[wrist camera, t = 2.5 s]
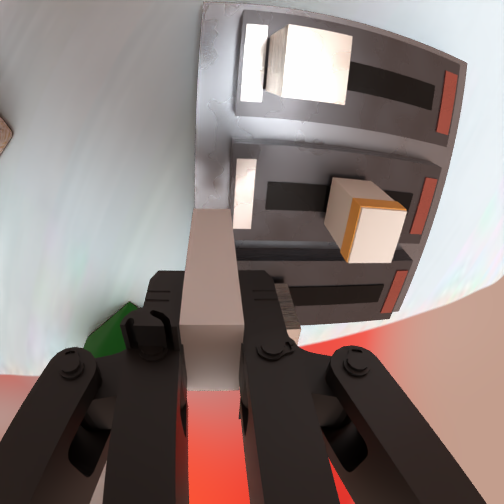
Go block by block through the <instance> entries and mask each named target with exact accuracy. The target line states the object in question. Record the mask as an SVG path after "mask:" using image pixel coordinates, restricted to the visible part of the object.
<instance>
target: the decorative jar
mask: <svg viewBox="0 0 504 504" xmlns="http://www.w3.org/2000/svg"><path fill="white" fill-rule="evenodd" d="M11 137H12V132H11V130H10V129H9V127H8V126H7V124H6V123H5V122H4V121H3V119H2V118H1V117H0V154H1V153H2V151H3V150H4V148H5V147H6V145H7V143H8V142H9V140H10V139H11Z"/></svg>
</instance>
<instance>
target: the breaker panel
mask: <svg viewBox="0 0 504 504" xmlns="http://www.w3.org/2000/svg"><path fill="white" fill-rule="evenodd" d="M466 70H467V63H466V62H464V61H462V60H460V59H458V58H456V57H453V56H451V55H449V54H447V53H444V52H442V51H440V50H438V49H435V48H433V47H430V46H428V45H425V44H423V43H420V42H418V41H415V40H412V39H410V38H407V37H404V36H401V35H398V34H395V33H392V32H389V31H386V30H383V29H380V28H376V27H373V26H370V25H366V24H362V23H359V22H355V21H351V20H347V19H343V18H338V17H334V16H329V15H325V14H320V13H314V12H309V11H303V10H297V9H291V8H283V7H276V6H267V5H257V4H245V3H227V2H203V13H202V25H201V37H200V51H199V67H198V85H197V107H196V137H195V209H231V217H232V226H233V235H234V243H235V252H236V260H237V269H238V270H265V271H266V272H267V273H268V274H269V275H270V276H271V278H272V279H273V281H274V284H275V288H276V292H277V295H278V301H279V303H280V307H281V310H282V314H283V318H284V322H285V325H286V329H287V333H288V335H289V337H290V338H291V339H293V340H294V341H295V343H296V344H297V343H298V339H299V336H300V332H301V327H300V325H317V324H333V323H348V322H360V321H372V320H383V319H390V316H391V314H392V312H397V311H399V309H400V307H401V305H402V303H403V300H404V298H405V296H406V293H407V291H408V288H409V286H410V284H411V281H412V279H413V276H414V274H415V271H416V269H417V266H418V263H419V261H420V258H421V255H422V253H423V250H424V247H425V244H426V242H427V239H428V236H429V233H430V230H431V227H432V224H433V221H434V218H435V214H436V211H437V208H438V205H439V201H440V198H441V195H442V191H443V187H444V184H445V180H446V176H447V172H448V169H449V165H450V160H451V156H452V152H453V148H454V143H455V138H456V133H457V128H458V123H459V118H460V112H461V106H462V100H463V94H464V86H465V79H466ZM332 177H335V178H346V179H356V180H366V181H372V182H373V183H374V184H376V185H377V186H378V187H379V188H380V189H381V190H383V191H384V192H385V193H386V194H387V195H389V196H390V197H391V198H392V199H393V200H394V201H397V202H399V203H400V204H401V205H402V206H403V207H404V208H405V209H407V210H406V211H407V214H406V217H405V220H404V224H403V227H402V230H401V234H400V237H399V240H398V243H397V246H396V249H395V252H394V255H393V258H392V261H391V263H348V262H346V261H345V259H344V258H343V256H342V254H341V253H340V251H341V250H340V248H339V247H338V245H337V244H336V242H335V240H334V239H333V237H332V236H331V234H330V232H329V231H328V229H327V228H326V226H325V225H324V221H325V216H326V211H327V205H328V200H329V194H330V189H331V183H332Z"/></svg>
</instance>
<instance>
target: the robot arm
mask: <svg viewBox="0 0 504 504" xmlns="http://www.w3.org/2000/svg"><path fill="white" fill-rule="evenodd" d="M120 328H121V331H122V335H123V339H124V342H125V346H126V349H125V350H123V351H121V352H119V353H116V354H113V355H108V356H103V357H98V358H94V356H93V355H92V353H91V352H89V351H87V350H86V349H84V348H78V347H72V348H67V349H64V350H62V351H60V352H58V353H57V354H56V355H55V356H54V357H53V358H52V359H51V360H50V362H49V363H48V365H47V366H46V368H45V369H44V371H43V372H42V374H41V375H40V377H39V378H38V380H37V382H36V383H35V385H34V386H33V388H32V389H31V391H30V393H29V394H28V396H27V397H26V399H25V401H24V402H23V404H22V405H21V407H20V409H19V410H18V412H17V414H16V415H15V417H14V419H13V420H12V422H11V424H10V426H9V427H8V429H7V431H6V433H5V434H4V436H3V438H2V440H1V442H0V504H90V501H91V499H92V496H93V494H94V491H95V489H96V486H97V484H98V481H99V478H100V476H101V474H102V471H103V469H104V466H105V464H106V472H105V481H104V491H103V502H102V504H189V483H188V404H187V390H189V391H190V390H191V391H194V390H195V391H221V390H222V391H224V390H226V391H227V390H239V386H240V396H241V398H240V409H239V410H240V411H239V419H241V424H242V433H243V443H244V452H245V462H246V471H247V480H248V487H249V497H250V504H340V502H339V498H338V494H337V490H336V486H335V482H334V478H333V474H332V470H331V466H330V463H329V459H330V461H331V463H332V465H333V466H334V468H335V470H336V472H337V473H338V475H339V477H340V478H341V480H342V482H343V484H344V485H345V487H346V489H347V491H348V492H349V494H350V495H351V497H352V499H353V501H354V502H355V504H486V502H485V501H484V499H483V498H482V497H481V495H480V494H479V492H478V491H477V489H476V488H475V487H474V485H473V484H472V482H471V481H470V480H469V478H468V477H467V476H466V474H465V473H464V471H463V470H462V469H461V467H460V466H459V464H458V463H457V462H456V460H455V459H454V457H453V456H452V455H451V453H450V452H449V451H448V450H447V448H446V447H445V445H444V444H443V443H442V441H441V440H440V439H439V437H438V436H437V435H436V433H435V432H434V431H433V429H432V428H431V427H430V425H429V424H428V423H427V421H426V420H425V419H424V417H423V416H422V415H421V413H420V412H419V411H418V409H417V408H416V407H415V405H414V404H413V403H412V402H411V400H410V399H409V398H408V397H407V395H406V394H405V393H404V391H403V390H402V389H401V387H400V386H399V385H398V384H397V382H396V381H395V380H394V378H393V377H392V376H391V375H390V373H389V372H388V371H387V370H386V368H385V367H384V366H383V364H382V363H381V362H380V361H379V359H378V358H377V357H376V356H375V355H374V354H373V353H372V352H370V351H369V350H366V349H364V348H362V347H358V346H344V347H341V348H340V349H338V350H336V351H335V352H334V354H333V355H332V356H327V355H321V354H316V353H311V352H308V351H305V350H303V349H301V348H299V347H298V346H297V344H296V343H295V341H294V340H293V339H291V338H290V337H289V335H288V333H287V329H286V325H285V322H284V318H283V314H282V310H281V307H280V303H279V301H278V295H277V292H276V288H275V284H274V281H273V279H272V278H271V276H270V275H269V274H268V273H267V272H266V271H265V270H238V269H237V260H236V252H235V243H234V235H233V226H232V217H231V209H193V215H192V222H191V229H190V236H189V244H188V251H187V259H186V267H185V271H158V272H157V273H156V274H155V275H154V276H153V277H152V278H151V279H150V282H149V286H148V290H147V294H146V298H145V302H144V306H143V307H142V308H139V309H136V310H133V311H131V312H130V313H129V314H127V315H126V316H125V317H124V318H123V320H122V321H121V323H120ZM328 458H329V459H328ZM106 461H107V463H106Z"/></svg>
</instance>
